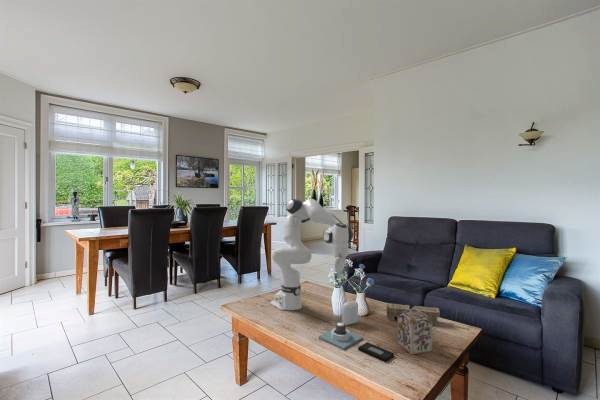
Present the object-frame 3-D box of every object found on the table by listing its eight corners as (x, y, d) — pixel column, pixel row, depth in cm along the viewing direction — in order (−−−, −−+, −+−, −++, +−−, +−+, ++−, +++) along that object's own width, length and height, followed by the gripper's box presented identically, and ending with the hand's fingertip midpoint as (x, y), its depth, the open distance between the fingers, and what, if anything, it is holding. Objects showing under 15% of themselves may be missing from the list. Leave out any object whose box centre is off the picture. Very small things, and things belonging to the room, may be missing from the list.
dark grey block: (333, 336, 153) (333, 324, 153) (340, 333, 156) (340, 321, 156) (340, 339, 149) (340, 327, 149) (347, 336, 152) (347, 324, 152)
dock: (318, 338, 152) (318, 331, 152) (338, 328, 164) (338, 322, 164) (343, 349, 141) (343, 342, 141) (362, 338, 152) (362, 332, 152)
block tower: (386, 321, 177) (440, 326, 168) (386, 307, 176) (440, 311, 168) (386, 316, 184) (438, 321, 175) (386, 302, 184) (438, 306, 175)
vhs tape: (367, 346, 146) (367, 342, 146) (394, 357, 136) (394, 353, 136) (358, 351, 141) (358, 347, 141) (385, 363, 131) (385, 359, 131)
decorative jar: (411, 355, 137) (412, 316, 137) (396, 343, 148) (396, 307, 148) (433, 351, 140) (433, 313, 140) (416, 340, 151) (417, 304, 151)
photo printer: (353, 319, 176) (354, 298, 176) (359, 322, 172) (359, 301, 172) (340, 323, 170) (340, 302, 170) (345, 326, 167) (346, 304, 167)
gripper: (344, 256, 160) (343, 282, 160) (347, 248, 179) (347, 271, 180) (332, 255, 161) (331, 280, 162) (337, 248, 181) (336, 270, 182)
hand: (340, 275), depth 171 cm, fingers open, 8 cm apart
